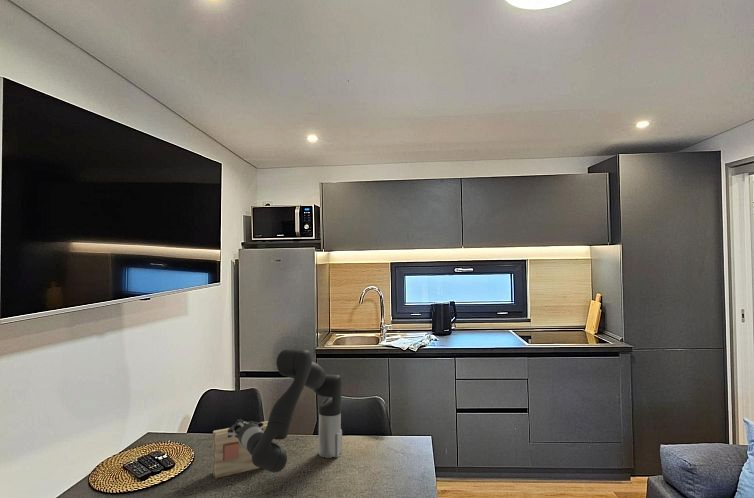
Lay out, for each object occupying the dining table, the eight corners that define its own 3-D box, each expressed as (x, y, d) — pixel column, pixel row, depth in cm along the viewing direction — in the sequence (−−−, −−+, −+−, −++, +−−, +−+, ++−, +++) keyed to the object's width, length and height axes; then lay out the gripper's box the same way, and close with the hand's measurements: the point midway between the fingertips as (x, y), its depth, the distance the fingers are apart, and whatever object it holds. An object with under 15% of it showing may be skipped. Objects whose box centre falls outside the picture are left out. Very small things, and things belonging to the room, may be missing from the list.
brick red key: (223, 457, 176) (223, 444, 176) (236, 454, 178) (236, 441, 179) (224, 460, 173) (225, 446, 173) (238, 457, 176) (238, 444, 176)
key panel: (212, 473, 177) (213, 430, 177) (268, 460, 188) (268, 420, 189) (215, 478, 173) (216, 435, 173) (272, 464, 184) (273, 424, 185)
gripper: (272, 423, 157) (256, 408, 171) (233, 431, 150) (220, 415, 164) (272, 445, 157) (256, 428, 171) (232, 454, 150) (220, 436, 164)
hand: (238, 422), depth 168 cm, fingers closed
